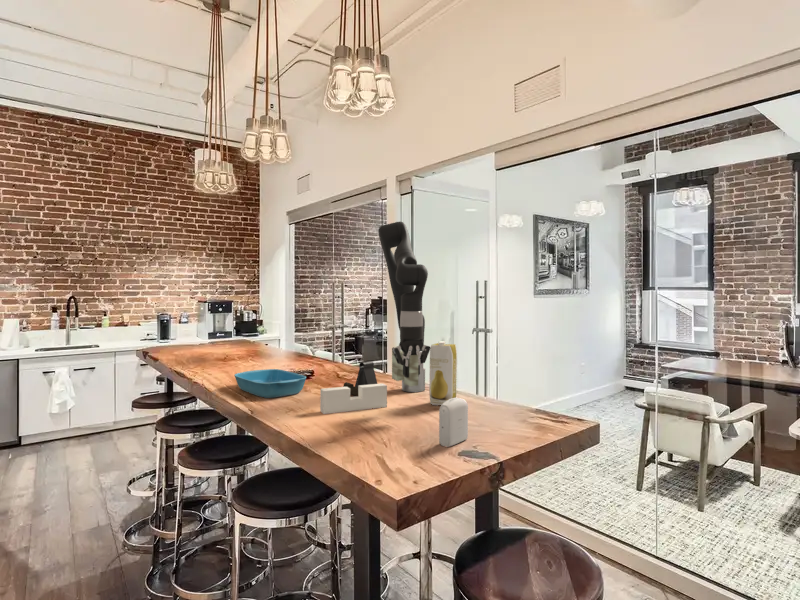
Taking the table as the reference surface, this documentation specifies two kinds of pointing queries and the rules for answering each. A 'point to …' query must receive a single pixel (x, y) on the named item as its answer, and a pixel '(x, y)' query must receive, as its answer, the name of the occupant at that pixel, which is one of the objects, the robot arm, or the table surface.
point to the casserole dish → (270, 382)
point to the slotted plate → (413, 370)
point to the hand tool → (351, 388)
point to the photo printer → (453, 422)
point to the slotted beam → (353, 398)
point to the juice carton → (442, 372)
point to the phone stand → (366, 374)
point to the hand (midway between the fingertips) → (411, 376)
